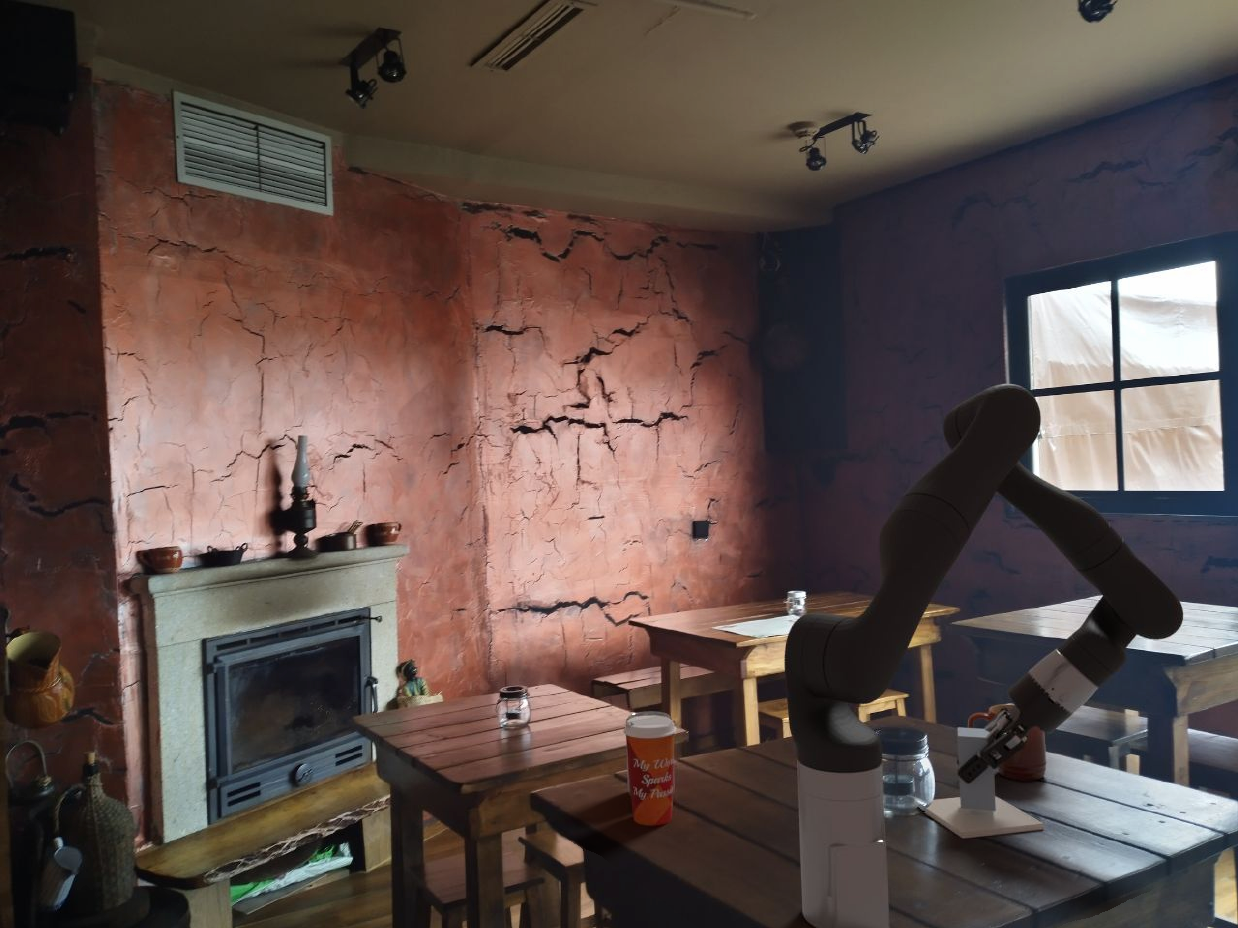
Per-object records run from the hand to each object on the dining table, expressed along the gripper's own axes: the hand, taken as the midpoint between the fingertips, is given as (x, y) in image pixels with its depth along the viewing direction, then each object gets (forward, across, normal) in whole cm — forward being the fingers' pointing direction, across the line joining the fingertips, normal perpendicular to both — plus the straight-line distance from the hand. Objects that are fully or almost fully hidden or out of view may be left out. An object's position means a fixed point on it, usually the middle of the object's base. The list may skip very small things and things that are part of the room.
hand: (962, 772), depth 130 cm
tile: (+3, 0, +6) cm, 6 cm away
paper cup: (+34, +12, -25) cm, 44 cm away
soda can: (+37, +2, -28) cm, 46 cm away
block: (+2, 0, +4) cm, 5 cm away
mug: (-1, -20, +10) cm, 23 cm away
